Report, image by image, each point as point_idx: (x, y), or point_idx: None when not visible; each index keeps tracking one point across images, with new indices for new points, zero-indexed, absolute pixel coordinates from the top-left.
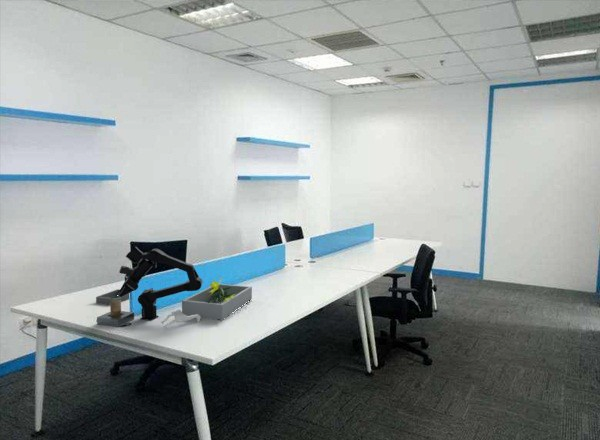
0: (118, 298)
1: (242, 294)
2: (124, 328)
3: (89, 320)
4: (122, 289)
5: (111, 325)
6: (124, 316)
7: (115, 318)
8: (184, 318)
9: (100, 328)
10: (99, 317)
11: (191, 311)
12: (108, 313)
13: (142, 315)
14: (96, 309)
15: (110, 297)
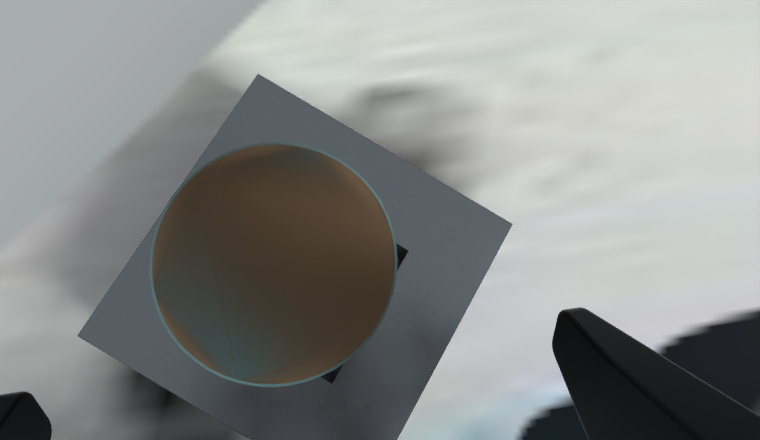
0: (183, 342)
1: None
2: (52, 407)
3: (412, 21)
4: (604, 412)
5: None
6: (207, 399)
7: (151, 295)
8: None
9: (129, 158)
10: (243, 102)
11: None
12: (385, 179)
13: None
14: (752, 30)
15: (262, 152)
